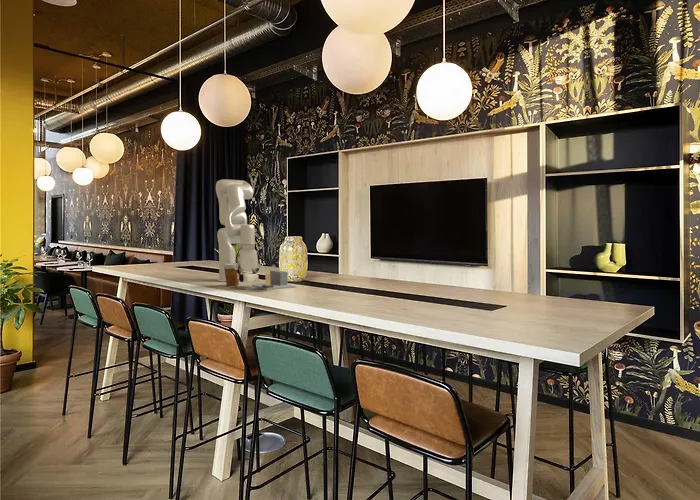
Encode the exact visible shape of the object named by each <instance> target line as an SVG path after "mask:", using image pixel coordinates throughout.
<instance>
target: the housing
mask: <svg viewBox="0 0 700 500" xmlns="http://www.w3.org/2000/svg"><path fill="white" fill-rule="evenodd" d="M269 271H270V286H266V283H257V284H256V283H255V284H252V285H251V286H254V287H258V288H260V289H261V290H265V291H269V290H281V289H291V288H293V289H294V288H297V285H295V284H290V283H288V281H289V280H288V278H289V277H288V271H284V270H279V269H271V270H269Z"/></svg>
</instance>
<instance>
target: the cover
mask: <svg viewBox="0 0 700 500" xmlns="http://www.w3.org/2000/svg"><path fill="white" fill-rule="evenodd" d="M252 273H253V272H251V273H250V272H243V282H256V281H259V274H258V273H257V274H252ZM237 279H239V274H237Z"/></svg>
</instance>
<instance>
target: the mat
mask: <svg viewBox="0 0 700 500" xmlns="http://www.w3.org/2000/svg"><path fill="white" fill-rule="evenodd" d="M236 287H237V288H236ZM234 288H236V289H240V290H244V291H249V290H250V291H251V289H252V290H260V289H261V288H258V287H254V286H252V285H250V284H249V285H248V284H247V285H238V286H234Z"/></svg>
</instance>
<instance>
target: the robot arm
mask: <svg viewBox="0 0 700 500" xmlns="http://www.w3.org/2000/svg"><path fill="white" fill-rule="evenodd" d="M215 192H216V197H217V199H218V207H219V209H218V210H219V221H220V224H221V225H223V226H224V227H223V228H222V227H221V228H219V229H218V231H217V242H218V270H219V271H218V273H219V274H218V277H217V278H216V281H217V282H223V283H224V282H225V283H226V277H225V269H224V264H232V263H236V262H237V263H236V265H235V266H234V267H233V268H234V269H235V270H236V272H237V273H238V274H239V282H240V283H243V282H244V280H243V273H244V271H245V270H251V273H252V274H257V275H258V272H259V271H260V269H261V268H262V265H261V264H260V263H259V259H258V252H257V250H256V249H255V246H256V244H255V243H256V240H255V239H256V238H255V236H256V235H255V232H256V231H255V227H256V226H255V225H254V224H250V223H249V224H248V216H247V213H246V210H247V209H246V208H247V206H246V201H245V200H251V199H253V196H254V189H253V187H252V185H251V184H250V183H249V182H247V181H245V180H242V179H241V180H240V179H220V180H218V181H216V183H215ZM234 244H239V245H238V246H237V249H239V251H238V255H237V256H236V253H237V252H236V250H235V248H234V246H233V245H234ZM236 257H237V261H236ZM237 267H238V268H239V270H238V268H237Z"/></svg>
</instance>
